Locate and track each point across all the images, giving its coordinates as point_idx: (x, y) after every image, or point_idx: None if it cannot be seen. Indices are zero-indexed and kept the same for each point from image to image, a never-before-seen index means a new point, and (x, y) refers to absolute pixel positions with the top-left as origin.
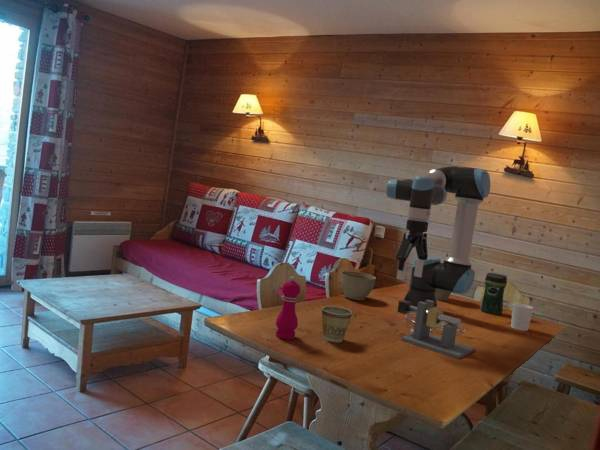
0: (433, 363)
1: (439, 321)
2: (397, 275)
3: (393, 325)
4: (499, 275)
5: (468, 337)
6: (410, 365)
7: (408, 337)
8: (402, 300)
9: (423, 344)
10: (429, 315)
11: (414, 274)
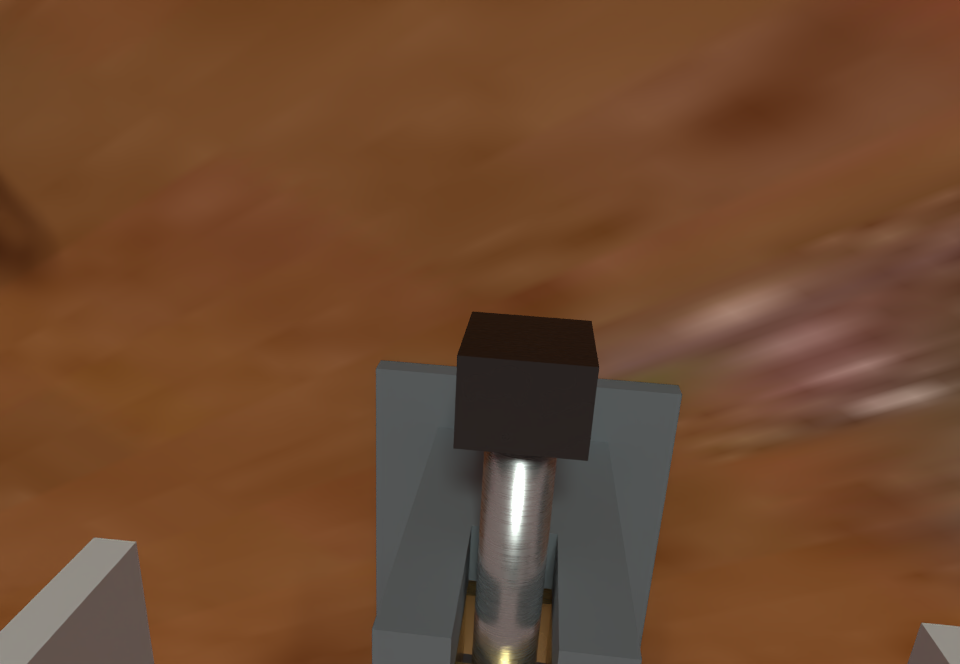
0: (173, 627)
1: (545, 661)
2: (49, 596)
3: (726, 141)
4: None
5: None
6: (22, 561)
7: (421, 403)
8: (548, 364)
9: (376, 520)
10: None
11: (938, 656)
